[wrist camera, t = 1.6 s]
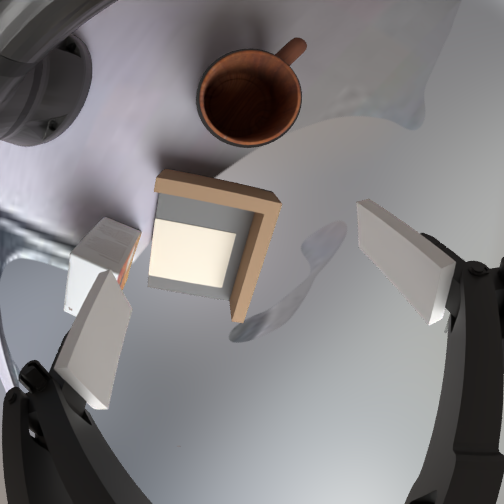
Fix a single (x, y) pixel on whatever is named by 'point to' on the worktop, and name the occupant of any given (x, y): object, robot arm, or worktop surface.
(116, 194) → the worktop surface
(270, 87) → the mug
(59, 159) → the worktop surface
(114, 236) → the small box
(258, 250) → the brown piece
